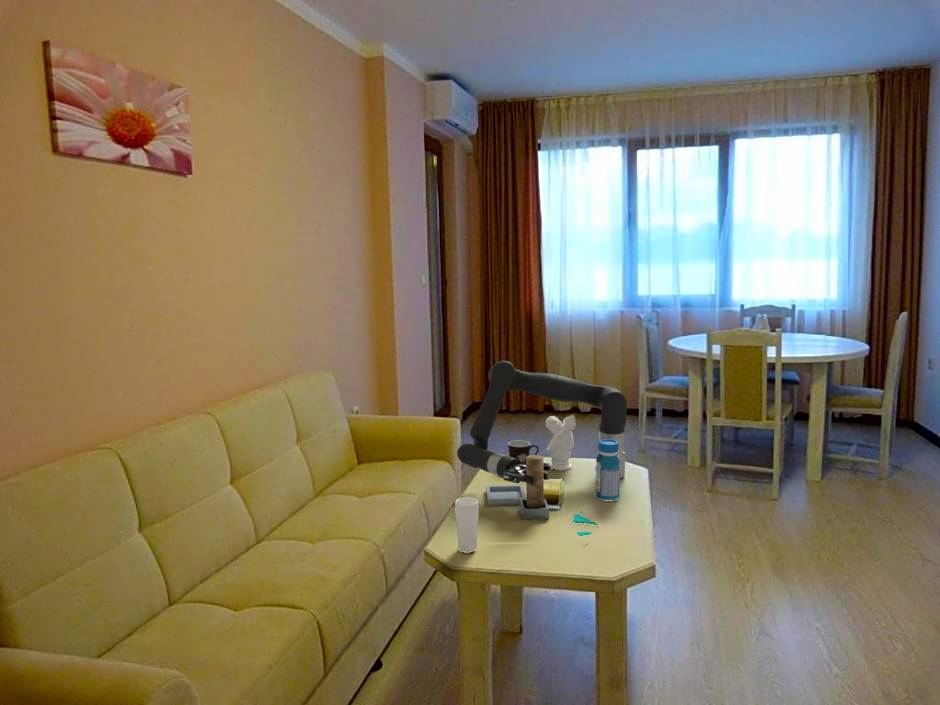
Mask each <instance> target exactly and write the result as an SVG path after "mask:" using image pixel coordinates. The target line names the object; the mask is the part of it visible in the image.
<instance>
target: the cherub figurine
mask: <svg viewBox="0 0 940 705" xmlns="http://www.w3.org/2000/svg"><path fill="white" fill-rule="evenodd" d="M576 420H577V419H576V417H575V415H574V414H571V415H570V416H566V417H565V418H564V419H563V420H562V421H563V422H562V421H561V420H560V419H559V418H558V417H557V416H555V415H550V416H548V417H547V418H546V420H545V422H544V423H545V427H546V428H547V429H548V430H549V431H550V433H551V434H552V435H553V436H552V438H551V441H550V443H549V444H548V446H547V448H546V451H547V452H548V453H550V458H551V460H550V463H549V465H548V466H550V467H551V468H552V469H551V468H550V467H549V468H550V469H551V470H553V469H555V470H554V471H557V470H559V471H560V472H563V471H569V470H570V469H572V468H573V467H572V463H570V461H571V460H570V459H571V452H572V451H571V450H572V449H574V447H575V443H574V435H573V432H572V431H573V430H575V429H576V425H577V424H576V422H577V421H576ZM559 471H558V472H559Z"/></svg>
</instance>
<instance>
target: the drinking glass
mask: <svg viewBox="0 0 940 705" xmlns="http://www.w3.org/2000/svg"><path fill="white" fill-rule="evenodd" d="M454 502H455V503H454V504H455V505H454V515H455V516H454V517H455V525H456V526H455V527H456V534H457V543H458V544H457V546H458V547H457V548H459V549H460V550H461V551H466V552H469V551H473V550H475V549H476V548H477V549H478V530H479V528H478V527H479V516H480V509H479V508H480V507H479V500H478V498H476V497H472V496H463V497H459V498H457V499H456V500H455V501H454ZM459 549H458V550H459ZM477 549H476V550H477Z"/></svg>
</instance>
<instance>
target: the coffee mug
mask: <svg viewBox="0 0 940 705" xmlns="http://www.w3.org/2000/svg"><path fill="white" fill-rule="evenodd" d="M507 445H508V447H507V448H508V456H509V457H513V458H516V459H518V460H519V462H520V463H521V464H523V465H526V457H527V456H529V455H530V450H531V449H532V448H534V447H535V448H536V452H535V453H534V454H533V455H538V453H539V450H540V449H539V446H538V445H535V444H533V445H531V442H529V441H528V440H527V441H526V440H521V439H519V440H510V441H509V442H508V444H507Z"/></svg>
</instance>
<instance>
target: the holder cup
mask: <svg viewBox="0 0 940 705" xmlns="http://www.w3.org/2000/svg"><path fill="white" fill-rule="evenodd" d="M518 507H519V513H520V516H521V517H520V518H521V520H522V521H526V520H527V521H531V520H534V521H536V520H537V521H539V520H540V521H541V520H542V521H543V520H549V519H550V508H549V505H548V502H547V499H546V498H544V506H543V507H541V508H530V507H528V506H527V499H519V506H518Z"/></svg>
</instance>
